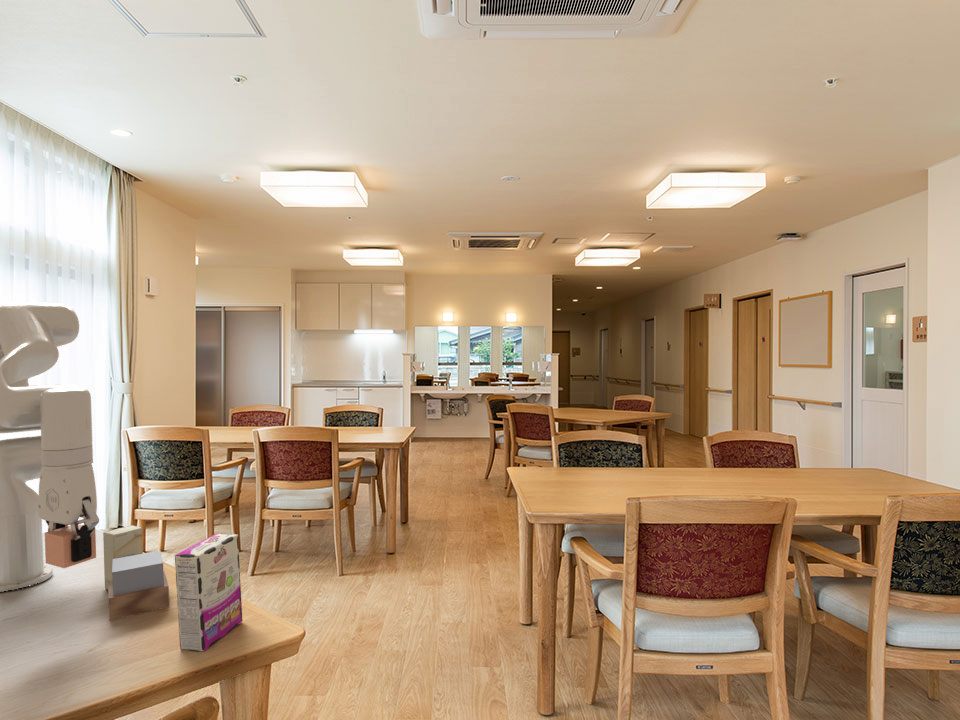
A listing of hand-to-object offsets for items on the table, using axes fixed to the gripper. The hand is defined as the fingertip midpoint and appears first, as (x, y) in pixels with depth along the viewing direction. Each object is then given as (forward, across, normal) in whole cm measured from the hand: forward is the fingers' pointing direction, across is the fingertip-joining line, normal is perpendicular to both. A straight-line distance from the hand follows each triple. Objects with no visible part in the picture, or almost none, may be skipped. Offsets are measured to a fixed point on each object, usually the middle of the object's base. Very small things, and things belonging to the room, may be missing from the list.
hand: (71, 555), depth 107 cm
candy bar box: (+13, +25, +8) cm, 30 cm away
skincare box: (+14, -11, +17) cm, 25 cm away
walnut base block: (+14, +1, +12) cm, 19 cm away
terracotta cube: (+1, 0, 0) cm, 1 cm away
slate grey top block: (+10, +1, +12) cm, 15 cm away
